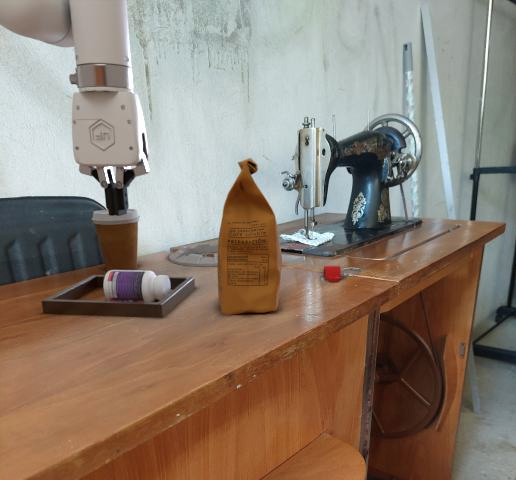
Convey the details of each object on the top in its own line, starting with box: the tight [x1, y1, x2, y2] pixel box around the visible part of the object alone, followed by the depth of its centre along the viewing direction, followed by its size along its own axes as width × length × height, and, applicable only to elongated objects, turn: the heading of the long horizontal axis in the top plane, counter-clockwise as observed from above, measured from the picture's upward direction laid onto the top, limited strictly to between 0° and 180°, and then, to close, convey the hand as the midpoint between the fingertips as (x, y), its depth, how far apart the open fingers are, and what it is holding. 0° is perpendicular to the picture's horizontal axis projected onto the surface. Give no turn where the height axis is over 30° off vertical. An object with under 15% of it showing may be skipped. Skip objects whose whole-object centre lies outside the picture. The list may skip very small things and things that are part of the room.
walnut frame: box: [41, 274, 196, 319], centre depth 85 cm, size 19×17×2 cm
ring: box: [169, 243, 218, 267], centre depth 119 cm, size 19×19×2 cm
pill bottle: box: [103, 269, 172, 302], centre depth 84 cm, size 5×5×10 cm
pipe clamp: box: [323, 265, 342, 283], centre depth 99 cm, size 8×3×2 cm, turn 179°
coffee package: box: [217, 157, 283, 316], centre depth 78 cm, size 10×12×22 cm
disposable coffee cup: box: [91, 208, 141, 272], centre depth 107 cm, size 10×10×12 cm
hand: (118, 214), depth 80 cm, fingers closed
